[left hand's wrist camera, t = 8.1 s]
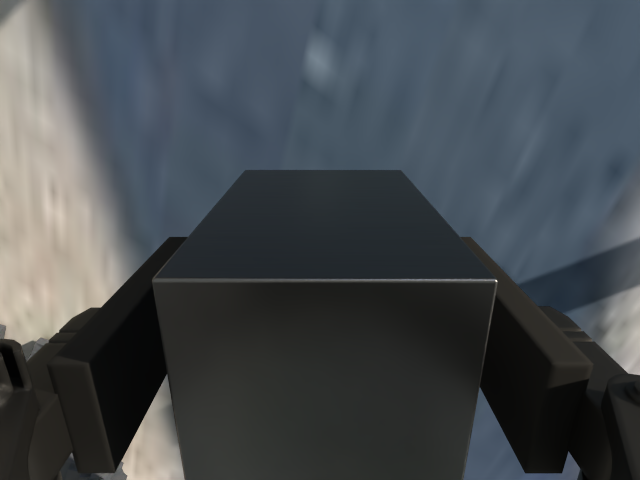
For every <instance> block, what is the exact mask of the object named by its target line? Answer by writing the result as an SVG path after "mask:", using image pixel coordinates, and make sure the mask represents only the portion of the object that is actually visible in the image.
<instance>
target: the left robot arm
mask: <svg viewBox="0 0 640 480" xmlns="http://www.w3.org/2000/svg"><path fill="white" fill-rule="evenodd" d="M187 238H188V237H169V238H168V239H167V240H166V241H165V242H164V243H163V244H162V245H161V246H160V247H159V248H158V249H157V250H156V251H155V253H154V254H153V255H152V256H151V257H150V258H149V259H148V260H147V261H146V262H145V263H144V264H143V265H142V266H141V267H140V268H139V269H138V270H137V271H136V272H135V273H134V274H133V275H132V276H131V277H130V278H129V279H128V280H127V281H126V282H125V283H124V285H123V286H122V287H121V288H120V289H119V290H118V291H117V292H116V293H115V294H114V295H113V296H112V297H111V298H110V299H109V300H108V301H107V302H106V303H105V304H104V305H103V306H102V307H101V308H89V309H88V310H86V311H84V312H82V313H81V314H79V315H77V316H75V317H73V318H72V319H71V320H70V321H69V322H68V323H67V324H66V325H64V326H63V327H62V328H61V329H60V330H59V333H56V334H55V335H54V336H53V337H52V338H51V339H50V340H49V343H46V344H45V345H44V346H42V347H41V348H40V349H39V350H38V351H37V352H36V353H35V354H34V355H33V356H32V357H31V358H30V359H29V360H28V361H27V362H26V360H25V357H24V354H23V350H22V347H21V344H19V343H18V342H16V341H15V340H9V339H0V480H63V479H62V476H61V472H60V469H61V468H62V466H63V465H64V464H65V462H66V461H67V459H68V458H69V456H70V455H71V453H72V454H73V458H74V461H75V465H76V468H77V471H78V473H115V472H116V470H117V468H118V466H119V464H120V462H121V460H122V458H123V457H124V455H125V453H126V451H127V449H128V447H129V445H130V443H131V441H132V439H133V437H134V436H135V434H136V432H137V430H138V428H139V426H140V424H141V422H142V420H143V418H144V416H145V415H146V413H147V411H148V409H149V407H150V405H151V403H152V401H153V399H154V397H155V395H156V394H157V392H158V390H159V388H160V386H161V384H162V382H163V380H164V378H165V376H166V374H167V369H166V363H165V357H164V350H163V344H162V338H161V332H160V326H159V320H158V314H157V308H156V302H155V296H154V290H153V284H152V280H153V278H154V276H155V275H156V274H157V273H158V272H159V271H160V269H161V268H162V267H163V266H164V265H165V264H166V262H167V261H168V260H169V259H170V258H171V257H172V255H173V254H174V253H175V252H176V251H177V250H178V248H179V247H180V246H181V245H182V244H183V242H184V241H185V240H186V239H187ZM460 238H461V239H462V240H463V241H464V242H465V243H466V244H467V246H468V247H469V248H470V249H471V250H472V251H473V252H474V254H475V255H476V256H477V257H478V258H479V259H480V260H481V261H482V263H483V264H484V265H485V266H486V267H487V268H488V269H489V271H490V272H491V273H492V274H493V275H494V276H495V277H496V278H497V281H498V284H497V289H496V295H495V301H494V306H493V312H492V318H491V324H490V329H489V335H488V341H487V346H486V352H485V358H484V364H483V369H482V375H481V381H480V388H481V390H482V392H483V394H484V395H485V397H486V399H487V401H488V403H489V405H490V407H491V409H492V411H493V413H494V415H495V416H496V418H497V420H498V422H499V424H500V426H501V428H502V430H503V432H504V434H505V436H506V437H507V439H508V441H509V443H510V445H511V447H512V449H513V451H514V453H515V455H516V457H517V458H518V460H519V462H520V464H521V466H522V468H523V470H524V472H525V473H562V471H563V468H564V465H565V461H566V458H567V454H568V451H569V452H570V454H571V455H572V457H573V458H574V460H575V461H576V463H577V464H578V466H579V467H580V472H579V476H578V479H577V480H640V375H634V374H628V373H627V372H626V371H625V370H624V369H623V368H622V367H621V366H620V365H619V364H618V363H616V362H615V361H614V360H613V359H612V358H611V357H610V356H609V355H608V354H607V353H606V352H605V351H604V350H603V349H602V348H601V347H600V346H599V345H597V344H596V343H595V342H592V339H591V338H590V337H589V336H588V335H587V334H586V333H585V332H584V331H581V328H580V327H578V326H577V325H576V324H575V323H574V322H573V321H572V320H571V319H570V318H569V317H568V316H566V315H564V314H562V313H561V312H559V311H557V310H555V309H553V308H552V307H550V306H537V305H536V304H535V303H534V302H533V301H532V300H531V299H530V298H529V297H528V296H527V295H526V294H525V293H524V292H523V291H522V290H521V289H520V288H519V287H518V286H517V285H516V283H515V282H514V281H513V280H512V279H511V278H510V277H509V276H508V275H507V274H506V273H505V272H504V271H503V270H502V269H501V268H500V267H499V266H498V265H497V264H496V263H495V262H494V261H493V260H492V259H491V258H490V257H489V256H488V255H487V254H486V253H485V251H484V250H483V249H482V248H481V247H480V246H479V245H478V244H477V243H476V242H475V241H474V240H473V239H472V238H471V237H460Z"/></svg>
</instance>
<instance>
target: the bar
mask: <svg viewBox="0 0 640 480" xmlns="http://www.w3.org/2000/svg"><path fill="white" fill-rule="evenodd" d="M152 284H153V290H154V296H155V302H156V308H157V314H158V320H159V326H160V332H161V338H162V344H163V350H164V357H165V363H166V369H167V375H168V381H169V387H170V393H171V399H172V405H173V411H174V417H175V423H176V429H177V435H178V441H179V447H180V453H181V459H182V466H183V472H184V478H185V480H463V478H464V472H465V467H466V461H467V455H468V449H469V444H470V438H471V432H472V426H473V421H474V415H475V409H476V404H477V398H478V392H479V386H480V381H481V375H482V369H483V364H484V358H485V352H486V346H487V341H488V335H489V329H490V324H491V318H492V312H493V306H494V301H495V295H496V289H497V284H498V281H497V278H496V277H495V276H494V275H493V274H492V273H491V272H490V271H489V269H488V268H487V267H486V266H485V265H484V264H483V263H482V261H481V260H480V259H479V258H478V257H477V256H476V255H475V254H474V252H473V251H472V250H471V249H470V248H469V247H468V246H467V244H466V243H465V242H464V241H463V240H462V239H461V238H460V237H459V235H458V234H457V233H456V232H455V231H454V230H453V229H452V227H451V226H450V225H449V224H448V223H447V222H446V221H445V220H444V218H443V217H442V216H441V215H440V214H439V213H438V212H437V210H436V209H435V208H434V207H433V206H432V205H431V204H430V203H429V201H428V200H427V199H426V198H425V197H424V196H423V195H422V194H421V192H420V191H419V190H418V189H417V188H416V187H415V186H414V184H413V183H412V182H411V181H410V180H409V179H408V178H407V177H406V175H405V174H404V173H403V172H402V171H401V170H245V171H244V172H243V173H242V175H241V176H240V177H239V178H238V179H237V180H236V182H235V183H234V184H233V185H232V186H231V188H230V189H229V190H228V191H227V192H226V193H225V195H224V196H223V197H222V198H221V199H220V200H219V202H218V203H217V204H216V205H215V206H214V207H213V209H212V210H211V211H210V212H209V213H208V214H207V216H206V217H205V218H204V219H203V220H202V221H201V223H200V224H199V225H198V226H197V227H196V228H195V230H194V231H193V232H192V233H191V234H190V235H189V237H188V238H187V239H186V240H185V241H184V242H183V244H182V245H181V246H180V247H179V248H178V250H177V251H176V252H175V253H174V254H173V255H172V257H171V258H170V259H169V260H168V261H167V262H166V264H165V265H164V266H163V267H162V268H161V269H160V271H159V272H158V273H157V274H156V275H155V276H154V278H153V280H152Z"/></svg>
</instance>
